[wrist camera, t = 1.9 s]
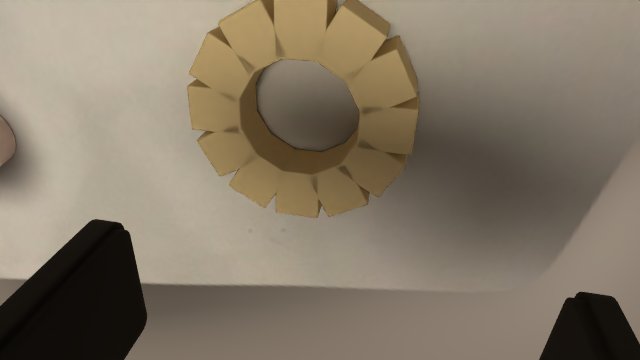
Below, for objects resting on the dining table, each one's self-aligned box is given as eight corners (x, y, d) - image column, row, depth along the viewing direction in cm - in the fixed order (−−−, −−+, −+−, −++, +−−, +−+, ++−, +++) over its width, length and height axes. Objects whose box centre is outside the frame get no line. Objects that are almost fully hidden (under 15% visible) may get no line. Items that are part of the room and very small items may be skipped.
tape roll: (433, -4, 18) (435, 6, 16) (401, 203, 23) (399, 230, 21) (200, -20, 20) (175, -13, 18) (217, 178, 25) (199, 201, 23)
